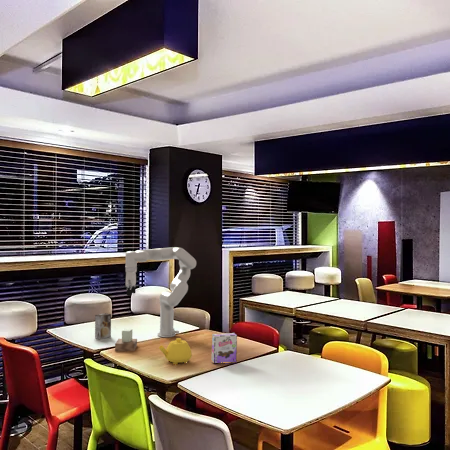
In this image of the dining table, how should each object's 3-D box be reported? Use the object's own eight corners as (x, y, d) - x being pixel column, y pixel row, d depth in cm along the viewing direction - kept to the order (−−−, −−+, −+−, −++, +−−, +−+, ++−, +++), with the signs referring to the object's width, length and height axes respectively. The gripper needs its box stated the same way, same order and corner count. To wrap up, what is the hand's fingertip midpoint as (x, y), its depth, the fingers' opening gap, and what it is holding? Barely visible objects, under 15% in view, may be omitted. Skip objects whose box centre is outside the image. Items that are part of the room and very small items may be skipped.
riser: (137, 346, 297) (137, 338, 297) (134, 351, 285) (134, 343, 285) (118, 346, 296) (118, 338, 296) (115, 351, 284) (115, 343, 284)
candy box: (213, 364, 261) (214, 335, 261) (211, 361, 267) (211, 333, 267) (236, 363, 265) (237, 334, 265) (233, 360, 270) (234, 332, 270)
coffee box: (105, 335, 323) (105, 312, 323) (111, 336, 319) (111, 314, 319) (94, 337, 316) (95, 314, 316) (100, 339, 312) (100, 315, 312)
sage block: (132, 340, 293) (132, 329, 293) (129, 342, 288) (129, 331, 288) (124, 339, 294) (125, 328, 294) (121, 341, 289) (121, 330, 289)
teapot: (163, 368, 251) (164, 344, 251) (153, 361, 264) (153, 337, 265) (196, 364, 261) (196, 340, 261) (184, 357, 275) (184, 334, 275)
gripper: (129, 268, 321) (129, 292, 321) (122, 270, 303) (122, 296, 303) (139, 268, 320) (139, 292, 320) (133, 270, 303) (133, 296, 303)
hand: (131, 294), depth 312 cm, fingers open, 9 cm apart
